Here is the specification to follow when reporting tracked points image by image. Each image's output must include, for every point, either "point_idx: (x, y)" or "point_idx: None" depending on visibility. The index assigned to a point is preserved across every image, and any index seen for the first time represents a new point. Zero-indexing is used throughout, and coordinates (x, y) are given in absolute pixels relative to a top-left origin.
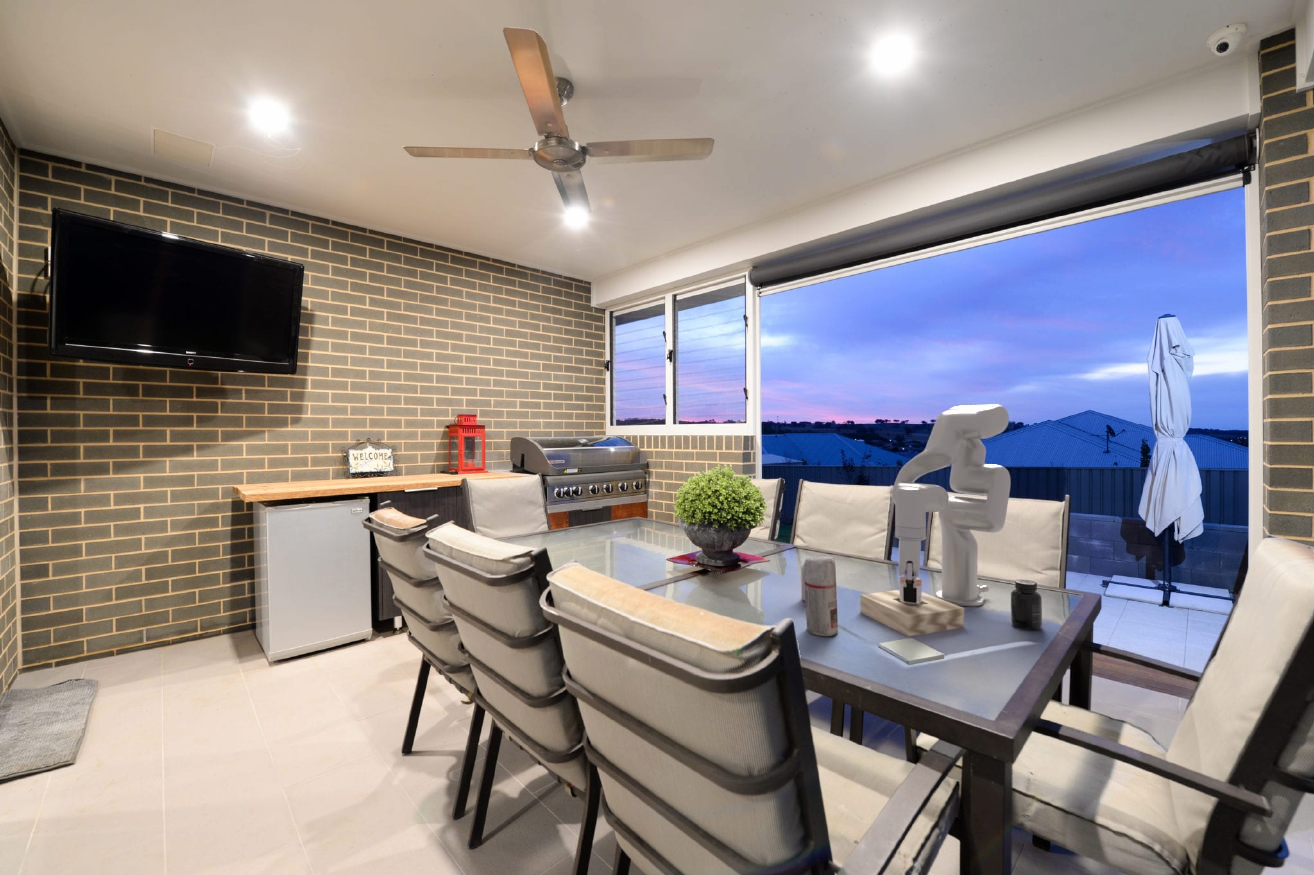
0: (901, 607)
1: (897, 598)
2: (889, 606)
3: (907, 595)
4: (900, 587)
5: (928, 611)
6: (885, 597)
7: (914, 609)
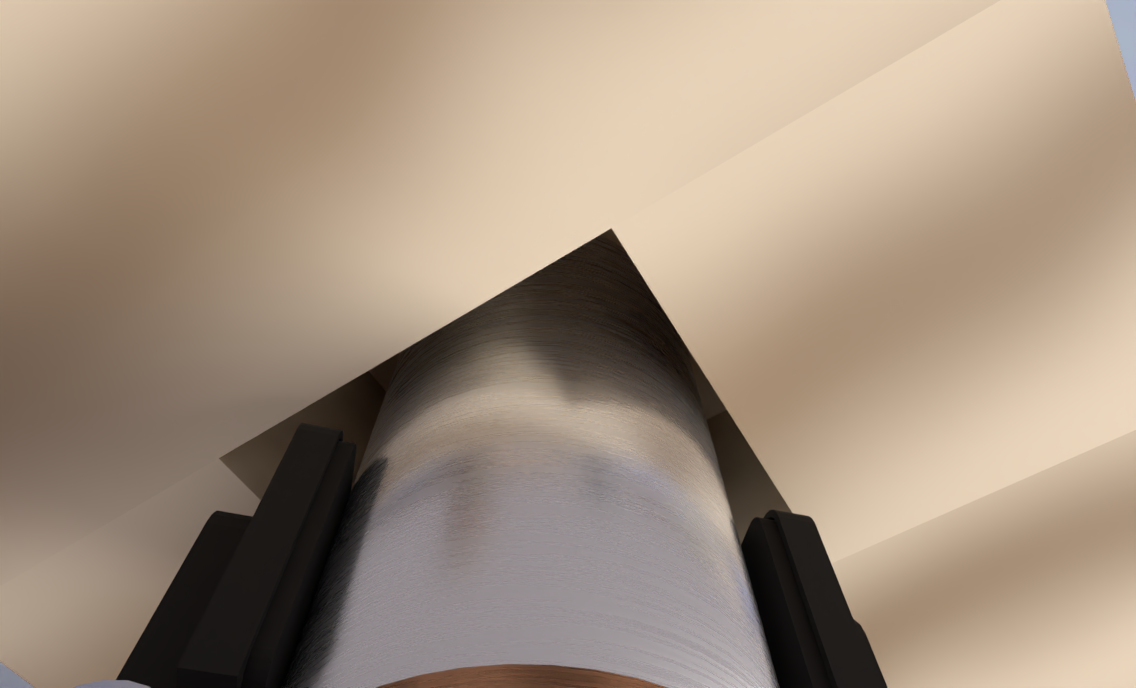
0: (73, 316)
1: (686, 338)
2: (18, 80)
3: (187, 573)
4: (456, 563)
5: (76, 656)
6: (691, 97)
7: (76, 501)
